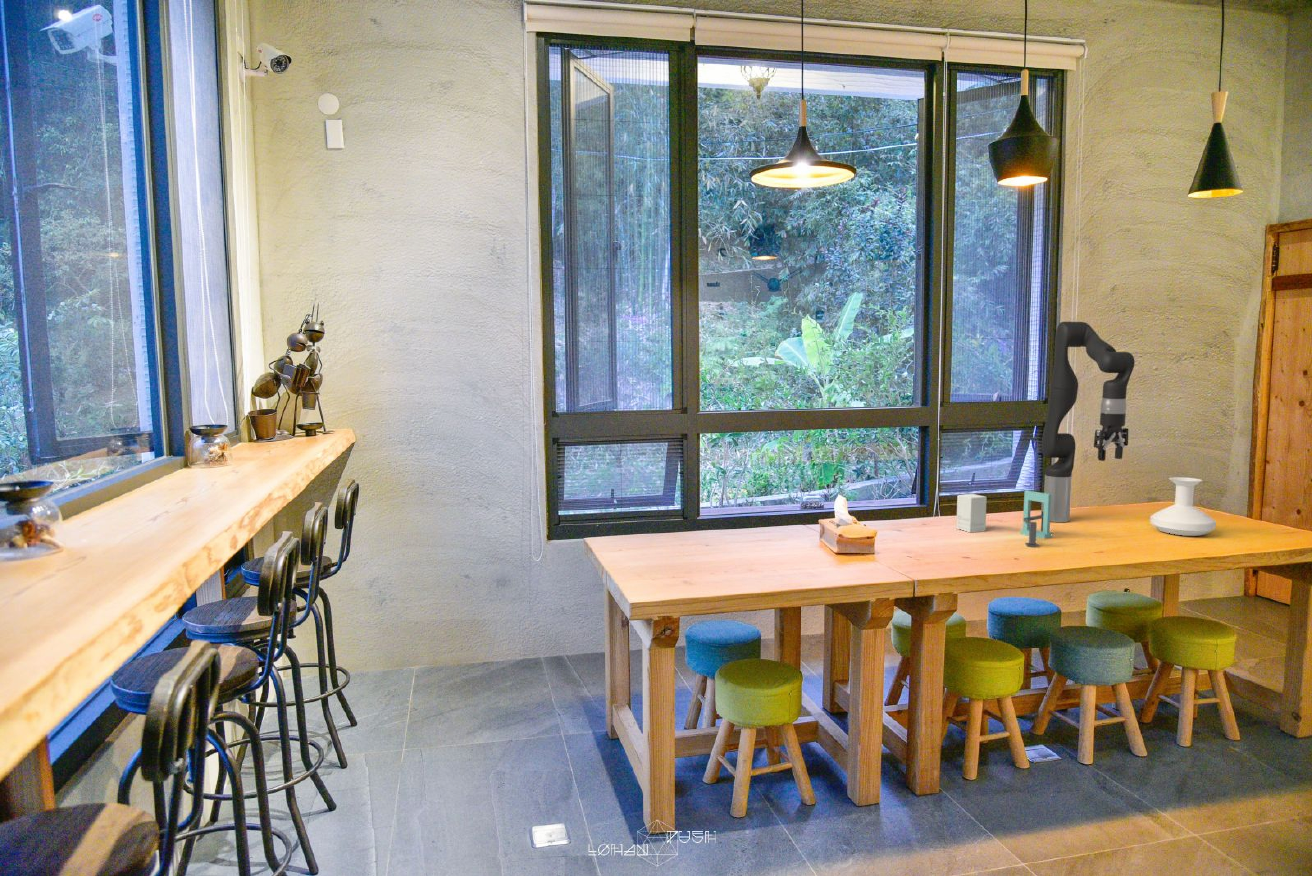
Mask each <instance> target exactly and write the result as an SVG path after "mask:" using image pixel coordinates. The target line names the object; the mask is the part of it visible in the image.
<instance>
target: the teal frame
mask: <svg viewBox="0 0 1312 876" xmlns="http://www.w3.org/2000/svg"><path fill="white" fill-rule="evenodd" d="M1023 496H1024V497H1023V499H1024V500H1023V518H1022V519H1023V521H1022V529H1020V535H1022V534H1025V535H1024V536H1027V535H1028V536H1027V537H1029V527H1030V526H1029V525H1028V524H1026V523H1025V522H1024V518H1027V517H1031V512H1032V511H1031V509H1032V507H1031V506H1032V501H1033V502H1039V503H1042V502H1043V503H1044V513H1043V531H1041V530H1037V529H1036V539H1037V538H1038V539H1042V538H1047V539H1052V535H1053V532H1052V533H1050V532H1051V531H1050V530H1051V521H1050V513H1051V494H1047V493H1044V492H1041V491H1039V492H1038V491H1032V490H1024V495H1023ZM1051 534H1052V535H1051Z"/></svg>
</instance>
